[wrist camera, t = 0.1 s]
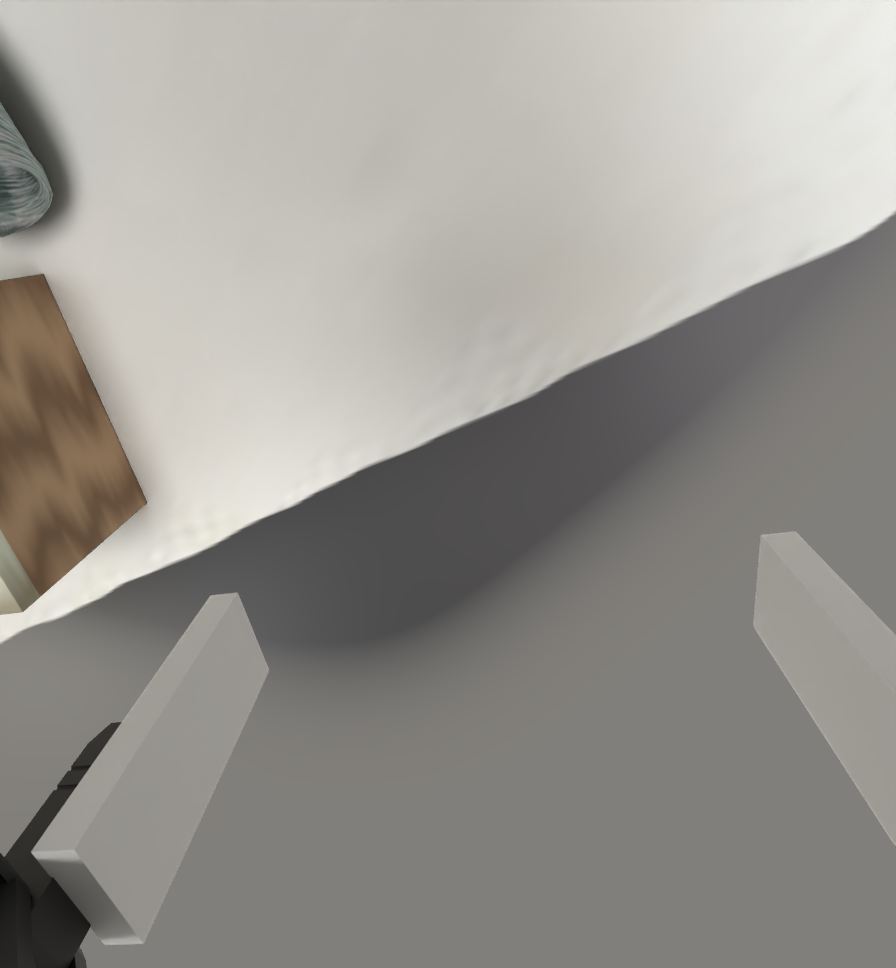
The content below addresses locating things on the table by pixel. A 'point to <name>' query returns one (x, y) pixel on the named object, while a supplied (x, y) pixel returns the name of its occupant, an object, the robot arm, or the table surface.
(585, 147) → the table surface
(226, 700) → the robot arm
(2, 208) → the grey yarn spool
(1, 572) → the wood grain block
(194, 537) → the table surface
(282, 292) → the table surface
